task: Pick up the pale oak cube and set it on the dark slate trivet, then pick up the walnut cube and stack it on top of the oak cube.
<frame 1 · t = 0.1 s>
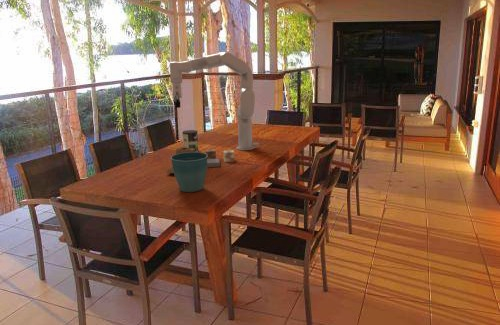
hand: (178, 106, 295), 31 cm above the table, tool pointing down, fingers open, 9 cm apart
coffee can: (191, 151, 303), on the table
walnut cube: (210, 159, 280), on the table
slate trivet: (210, 164, 267), on the table
flower pot: (191, 189, 221), on the table
oak cube: (229, 160, 276), on the table
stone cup: (182, 173, 250), on the table
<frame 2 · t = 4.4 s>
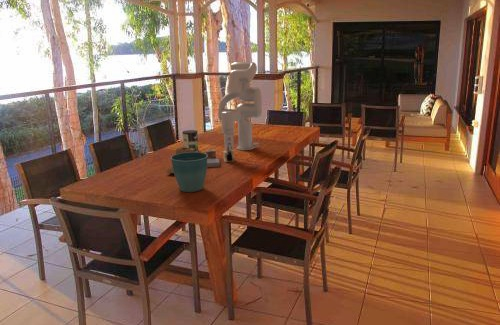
hand: (229, 159, 276), 1 cm above the table, tool pointing down, fingers closed on oak cube, 6 cm apart
oak cube: (229, 160, 276), on the table, touching gripper
everything else where it was.
when the fingers open (5 cm above the table, at t = 9.2 s): oak cube drops 1 cm, resting on slate trivet.
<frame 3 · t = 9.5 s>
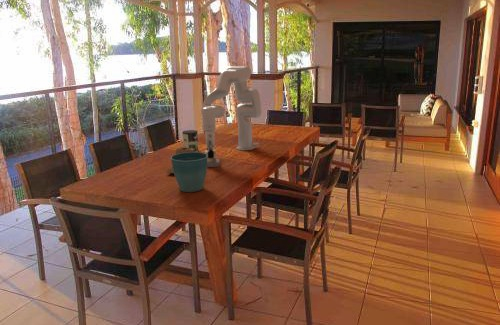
hand: (210, 156, 265), 5 cm above the table, tool pointing down, fingers open, 9 cm apart
oak cube: (210, 160, 266), point 2 cm above the table, touching slate trivet
everything else where it was.
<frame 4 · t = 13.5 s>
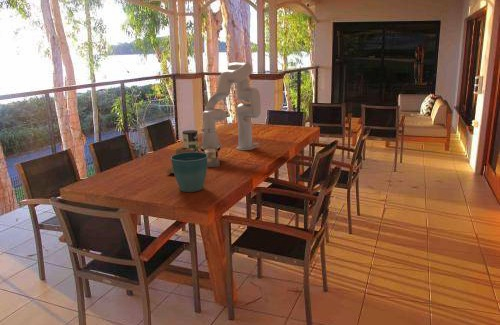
hand: (210, 158, 280), 1 cm above the table, tool pointing down, fingers closed on walnut cube, 6 cm apart
walnut cube: (210, 159, 280), on the table, touching gripper
everything else where it was.
when the fingers open (10 cm above the table, at t = 18.9 s): walnut cube stays where it is, resting on oak cube.
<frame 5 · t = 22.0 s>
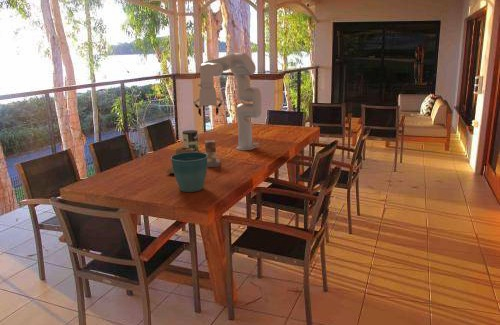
hand: (208, 115, 259), 30 cm above the table, tool pointing down, fingers open, 9 cm apart
walnut cube: (210, 151, 265), point 8 cm above the table, touching oak cube
oak cube: (210, 160, 266), point 2 cm above the table, touching slate trivet, walnut cube
everything else where it was.
at the end: oak cube 0.0 cm off-centre on the slate trivet, point 2.5 cm above the slate trivet's base; walnut cube 0.1 cm off-centre on the oak cube, point 6.0 cm above the oak cube's base; walnut cube tilted 0° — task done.
